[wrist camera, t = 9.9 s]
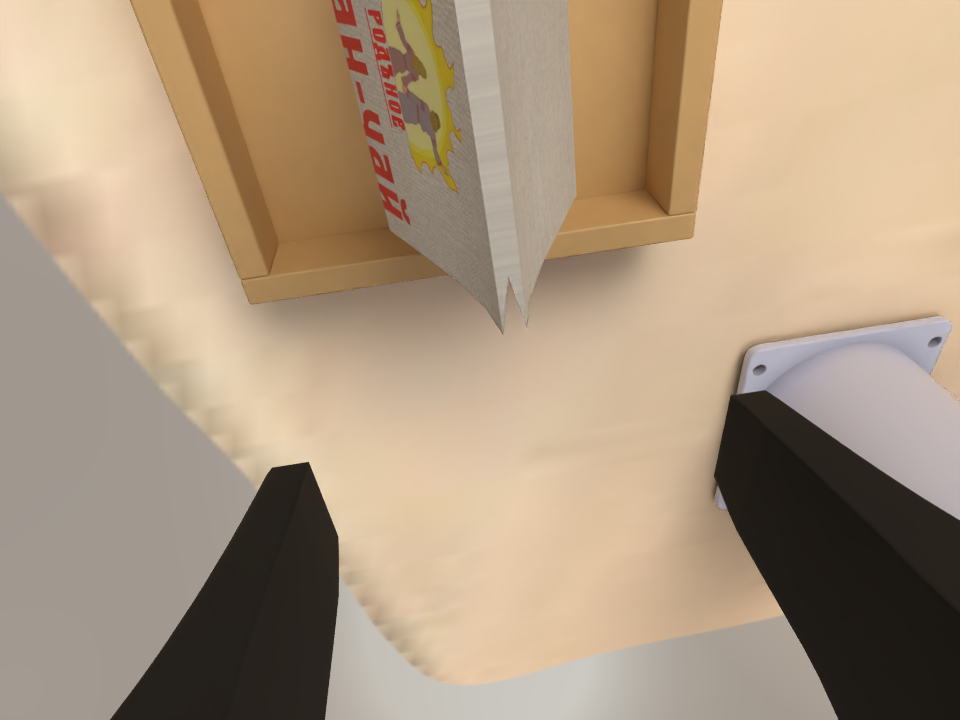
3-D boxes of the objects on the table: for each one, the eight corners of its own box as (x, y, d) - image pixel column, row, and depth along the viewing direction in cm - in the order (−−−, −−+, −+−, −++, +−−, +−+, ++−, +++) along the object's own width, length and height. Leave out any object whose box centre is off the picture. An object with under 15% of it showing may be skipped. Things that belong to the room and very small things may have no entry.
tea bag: (490, -232, 12) (672, -448, 5) (522, 110, 17) (646, 307, 9) (311, -200, 12) (180, -361, 4) (389, 135, 17) (391, 355, 9)
